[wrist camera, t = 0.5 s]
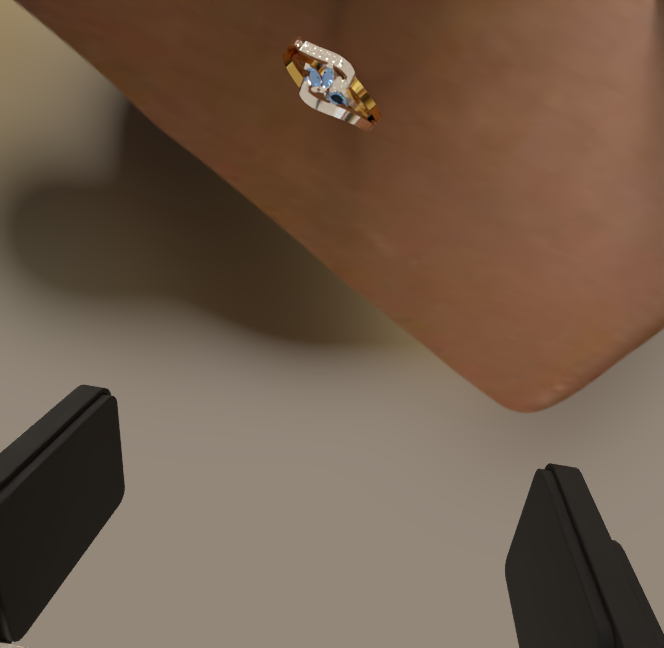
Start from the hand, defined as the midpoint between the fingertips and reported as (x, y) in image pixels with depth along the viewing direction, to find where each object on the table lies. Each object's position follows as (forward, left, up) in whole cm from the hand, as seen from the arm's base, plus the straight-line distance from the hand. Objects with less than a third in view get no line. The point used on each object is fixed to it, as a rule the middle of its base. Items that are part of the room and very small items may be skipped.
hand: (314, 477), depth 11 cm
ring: (-9, -4, -30) cm, 31 cm away
